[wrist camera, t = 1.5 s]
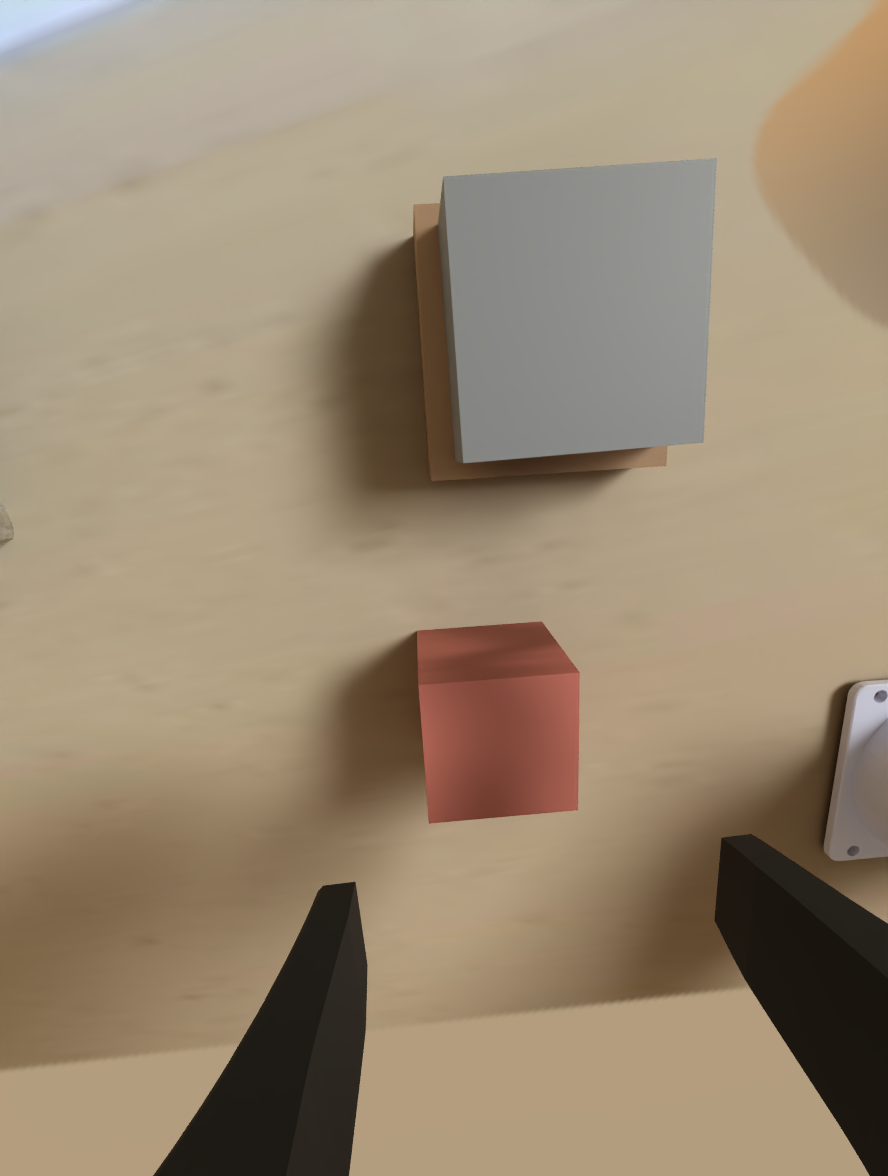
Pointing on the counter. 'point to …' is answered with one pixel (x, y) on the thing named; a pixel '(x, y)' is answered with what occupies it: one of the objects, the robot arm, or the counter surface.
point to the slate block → (577, 307)
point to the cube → (497, 722)
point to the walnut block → (439, 385)
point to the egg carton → (5, 526)
